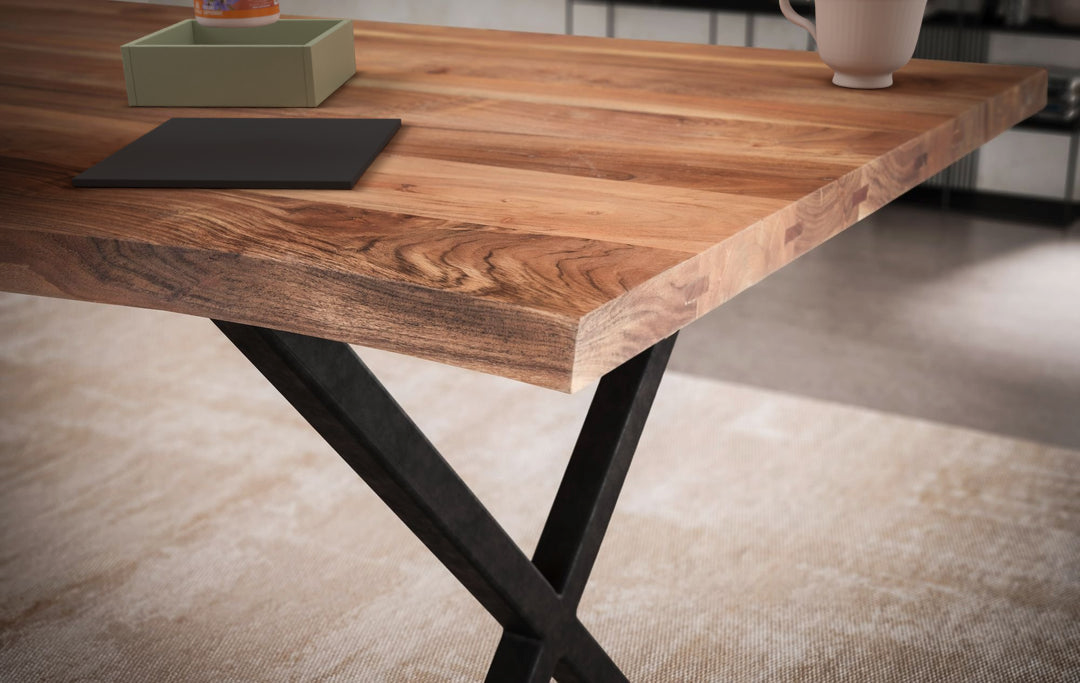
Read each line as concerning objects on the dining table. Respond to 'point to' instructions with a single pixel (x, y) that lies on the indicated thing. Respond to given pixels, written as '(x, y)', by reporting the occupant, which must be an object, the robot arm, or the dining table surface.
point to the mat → (246, 154)
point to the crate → (240, 64)
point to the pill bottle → (236, 13)
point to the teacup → (863, 37)
